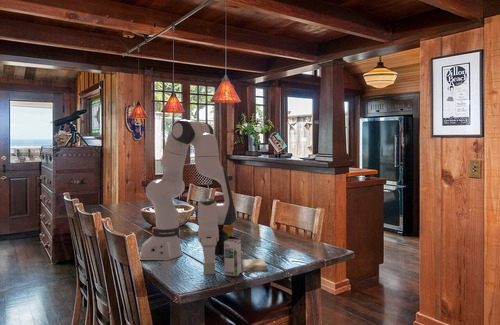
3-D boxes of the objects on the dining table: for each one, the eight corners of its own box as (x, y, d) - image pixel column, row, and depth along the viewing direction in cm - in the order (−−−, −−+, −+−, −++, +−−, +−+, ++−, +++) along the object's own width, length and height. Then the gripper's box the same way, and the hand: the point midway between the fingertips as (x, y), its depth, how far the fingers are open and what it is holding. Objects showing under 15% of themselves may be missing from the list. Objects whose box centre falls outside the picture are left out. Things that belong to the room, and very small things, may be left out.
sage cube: (203, 274, 168) (203, 262, 168) (203, 270, 173) (203, 259, 173) (215, 273, 169) (215, 262, 169) (214, 269, 174) (214, 258, 173)
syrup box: (224, 275, 167) (223, 241, 166) (229, 270, 172) (229, 238, 171) (236, 276, 164) (235, 242, 164) (241, 272, 170) (241, 239, 169)
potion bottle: (227, 250, 203) (226, 216, 202) (229, 255, 195) (228, 219, 194) (211, 251, 202) (210, 217, 201) (213, 256, 194) (212, 220, 193)
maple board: (244, 271, 171) (244, 266, 171) (241, 264, 181) (241, 259, 181) (266, 269, 172) (266, 265, 172) (263, 262, 182) (263, 258, 182)
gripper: (201, 231, 180) (202, 261, 181) (201, 243, 160) (202, 276, 161) (215, 230, 181) (215, 260, 182) (216, 242, 160) (217, 275, 161)
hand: (209, 268), depth 171 cm, fingers closed on sage cube, 5 cm apart
